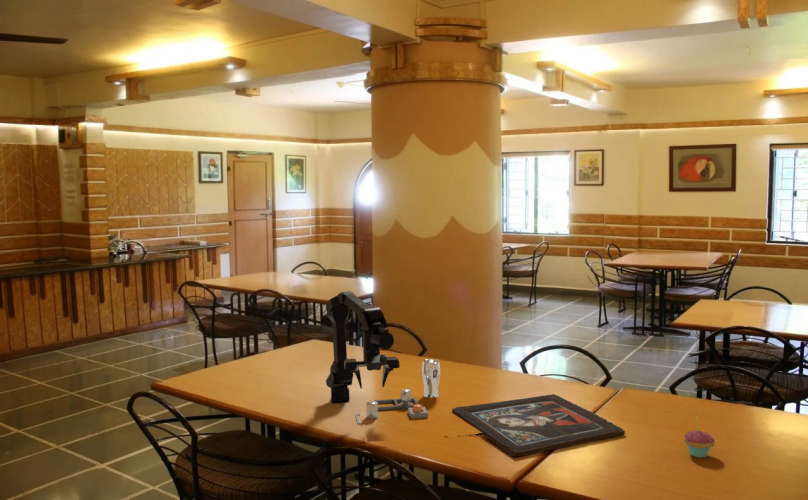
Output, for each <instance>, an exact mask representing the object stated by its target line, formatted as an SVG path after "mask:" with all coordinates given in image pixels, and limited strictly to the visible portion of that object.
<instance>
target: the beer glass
mask: <svg viewBox="0 0 808 500" xmlns="http://www.w3.org/2000/svg"><path fill="white" fill-rule="evenodd" d="M421 376H422V378H421V379H422V382H423V388H424V389H423V396H424V398H427V399H434V398H438V397H439V396H440V395H439V384H440V379H441V365H440V360H439V359H436V358H426V359H423V360H422V366H421Z"/></svg>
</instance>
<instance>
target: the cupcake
mask: <svg viewBox="0 0 808 500" xmlns="http://www.w3.org/2000/svg"><path fill="white" fill-rule="evenodd" d="M695 414H696V416H695V429H694V430H690V431H687V432H686V433H685V434H684V435H683V436H684V438H683V442H684V443H685V444H686V446H687V449H688V452H689V455H691V456H692V457H695V458H703V459H704V458H706V457H707V456H708V454H709V451H710V449H711V448H714V447H715V445H716V441H715V438H714V437H713V436H712V435H711V434H709V433H708V432H705V431H702V430H699V429H700V428H699V416H698V413H695Z"/></svg>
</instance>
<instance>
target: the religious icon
mask: <svg viewBox="0 0 808 500" xmlns="http://www.w3.org/2000/svg"><path fill="white" fill-rule="evenodd" d="M451 412H452V413H453V414H454V415H456V416H457V417H458V418H460V419H462V420H463V421H464V422H466V423H467V424H469V425H471V426H472V427H473V428H475V429H476V430H478V431H480V432H479V433H477V434H476V435H475V436H476V437H481V436H484V437H485V438H486V439H487V440H489V441H491V442H492V443H493V444H495V445H496V446H497V447H498V448H500V449H501V450H502V451H504V452H505V453H507V454H508V455H510V456H512V457H514V458H517V457H518V458H519V457H523V456H529V455H533V454H537V453H542V452H548V451H553V450H557V449H558V450H559V449H563V448H569V447H573V446H577V445H582V444H587V443H591V442H596V441H602V440H607V439H612V438H617V437H620V436H624V435H625V434H626V431H625V430H624V428H621V427H620V426H618V425H616V424H614V423H613V422H612V421H611V422H610V421H608V420H607V419H606V418H604V417H601V416H599V414H596V413H594V412H592V411H590V410H588V409H585V408H583V406H582V407H581V406H579V405H578V404H576V403H573V402H572V401H569V400H567V399H565V398H562V397H561V396H558V395H557V394H554V393H552V394H545V395H538V396H533V397H532V396H531V397H526V398H518V399H510V400H505V401H504V400H503V401H497V402H496V401H495V402H488V403H482V404H474V405H473V404H472V405H464V406H456V407H455V408H452V410H451Z"/></svg>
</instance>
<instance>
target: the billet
mask: <svg viewBox="0 0 808 500" xmlns="http://www.w3.org/2000/svg"><path fill="white" fill-rule="evenodd" d="M378 406H379V404H378V402H376V401H374V400H371V401H367V402H366V418H367V419H368V420H375V419H376V420H377V419H378V418H379V411H378Z"/></svg>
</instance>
